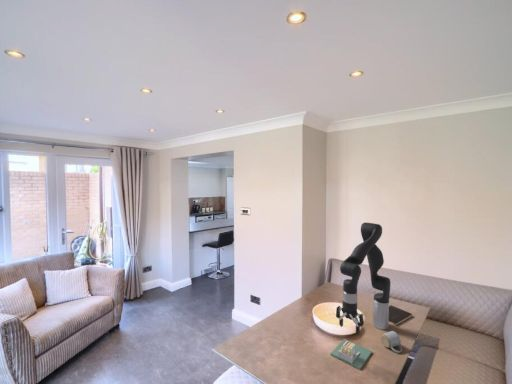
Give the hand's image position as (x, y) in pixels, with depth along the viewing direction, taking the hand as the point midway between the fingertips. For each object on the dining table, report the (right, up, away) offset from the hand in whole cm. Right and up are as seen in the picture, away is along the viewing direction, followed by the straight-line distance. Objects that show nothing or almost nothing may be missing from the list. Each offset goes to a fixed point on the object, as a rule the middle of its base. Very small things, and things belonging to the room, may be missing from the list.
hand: (349, 329), depth 138 cm
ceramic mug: (+29, -16, +10) cm, 34 cm away
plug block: (0, -15, +1) cm, 15 cm away
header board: (+3, -16, +3) cm, 16 cm away
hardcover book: (+48, -15, +45) cm, 67 cm away
